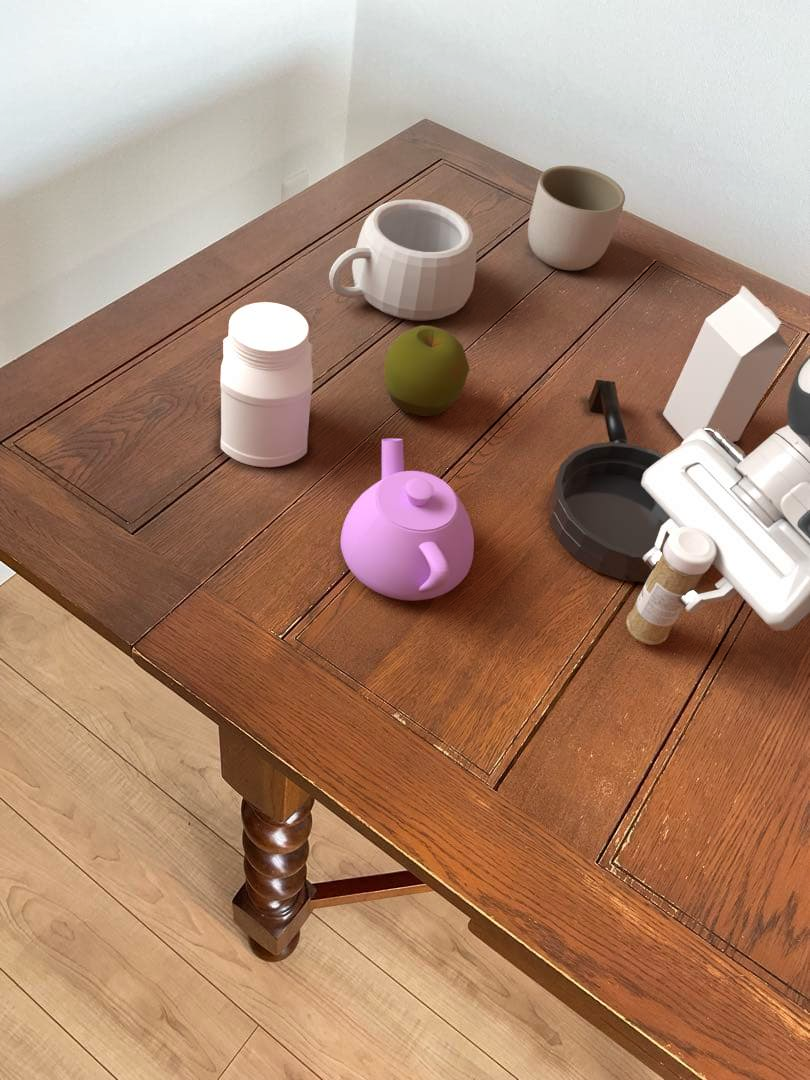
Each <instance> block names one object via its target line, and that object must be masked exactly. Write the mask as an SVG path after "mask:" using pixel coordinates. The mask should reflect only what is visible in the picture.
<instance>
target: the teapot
mask: <svg viewBox="0 0 810 1080" xmlns="http://www.w3.org/2000/svg"><path fill="white" fill-rule="evenodd" d="M404 455H405V454H404V439H403V438H382V439H381V479H380V480H379V481H377V482H375V483H374V484H373V485H371V486H369V488H367V489H366V490H365V491H364V492H362V493H361V495H359V497H358V498H357V499H356V500H355V502H354V503H353V504H352V506H351V507H350V509H349V511H348V513H347V515H346V517H345V519H344V521H343V524H342V529H341V535H340V549H341V553H342V556H343V559H344V562H345V564H346V566H347V567H348V569H349V571H350V572H351V573H352V574H353V576H354V577H355V578H356V579H357V580H358V581H359V582H360V583H362V584H363V585H364V586H366V587H367V588H368V589H370V590H372V591H373V592H375V593H377V594H379V595H382V596H384V597H387V598H390V599H396V600H401V601H413V602H414V601H425V600H429V599H434V598H437V597H441V596H442V595H445V594H447V593H449V592H450V591H452V590H453V589H455V588H456V587H457V586H458V585H459V584H460V583H461V582H463V580H465V578H466V576H467V575H468V573H469V572H470V569H471V566H472V563H473V558H474V554H475V553H474V551H475V538H474V529H473V526H472V522H471V519H470V516H469V513H468V512H467V510H466V508H465V506H464V504H463V503H462V500H461V499H460V498H459V496H458V494H457V493H456V492H455V491H454V489H453V488H451V486H450V485H449V484H448V483H447V482H446V481H444V480H443V479H441V478H440V477H437V475H434V474H431V473H428V472H424V471H419V470H405V461H404V460H405V459H404V458H405V457H404Z"/></svg>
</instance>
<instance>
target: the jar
mask: <svg viewBox="0 0 810 1080" xmlns="http://www.w3.org/2000/svg"><path fill="white" fill-rule="evenodd" d="M309 336H310V327H309V323H308V321H307V319H306V318H305V317H304V316H303V315H302V314H301V313H300V312H299V311H298V310H296V309H294V308H293V307H291V306H288V305H285V304H281V303H277V302H270V301H263V302H261V301H259V302H253V303H249V304H245V305H243V306H241V307H240V308H238V309H237V310H236V311H235V312H233V313H232V314H231V316H230V318H229V320H228V336H226V337H225V338H224V339H223V340H222V343H223V344H222V355H223V358H222V361H221V365H220V378H219V379H220V384H219V385H220V392H221V393H220V401H221V402H220V420H221V421H220V449H221V450H222V452H223V453H225V454H226V455H227V456H228V457H230V458H232V459H233V460H235V461H237V462H239V463H241V464H245V465H248V466H251V467H259V468H276V467H282V466H286V465H290V464H292V463H295V462H296V461H298V460H300V459H301V458H302V457H304V456H305V455H306V454H307V453H308V435H309V423H310V413H311V401H312V394H313V385H314V382H313V381H314V371H313V370H314V369H313V365H312V360H313V351H314V349H313V348H314V346H313V345H312V343H310V342H309Z"/></svg>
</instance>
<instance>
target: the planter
mask: <svg viewBox="0 0 810 1080" xmlns="http://www.w3.org/2000/svg"><path fill="white" fill-rule="evenodd" d="M625 194H626V193H625V192H624V190H623V188H622V187H621V186H620V185H619V184H618V183H617V182H616V181H615V180H614V179H613V178H611V177H609V176H607V175H606V174H604V173H602V172H600V171H597V170H594V169H591V168H588V167H583V166H578V165H557V166H553V167H550V168H548V169H546V170H544V171H543V172H542V173H541V174H540V176H539V179H538V182H537V185H536V190H535V194H534V199H533V202H532V205H531V210H530V215H529V220H528V223H527V224H528V225H527V239H528V244H529V247H530V248H531V250H532V252H533V254H534V256H535V257H537V258H538V259H539V260H540V261H541V262H542V263H544V264H546V265H547V266H550V267H552V268H555V269H559V270H563V271H581V270H585V269H587V268H590V267H592V266H593V265H595V264H596V263H597V262H598V261H600V259H601V258H602V256H603V255H604V254H605V252H606V251H607V249H608V247H609V245H610V243H611V240H612V238H613V235H614V232H615V230H616V227H617V224H618V221H619V218H620V215H621V213H622V211H623V207H624V205H625V201H626V195H625Z"/></svg>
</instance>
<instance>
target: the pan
mask: <svg viewBox="0 0 810 1080" xmlns="http://www.w3.org/2000/svg"><path fill="white" fill-rule="evenodd" d="M664 456H665V455H663V454H662V453H660V452H658V451H656V450H653V449H650V448H647V447H643V446H641V445H638V444H634V443H628V444H627V443H618V442H609V441H605V442H598V443H591V444H587V445H586V446H583V447H581V448H579V449H577V450H574V451H572V452H571V453H570V454H569V455H568V456H567V457H566V458H565V459H564V460H563V461H562V463H561V464H560V465H559V468H558V471H557V472H556V476H555V478H554V481H553V484H552V486H551V489H550V492H549V495H548V497H547V501H546V509H547V518H548V523H549V526H550V527H551V529H552V531H553V533H554V534H555V537H556V538H557V540H558V541H559V543H560V544H561V545H562V546H563V547H564V548H565V549H566V550H567V551H568V552H569V553H570V554H571V555H572V556H573V557H574V558H575V559H576V560H578V561H580V562H581V563H583V564H584V565H586V566H588V567H589V568H590V569H592V570H594V571H596V572H598V573H600V574H604V575H606V576H609V577H612V578H615V579H618V580H621V581H628V582H639V583H646V581H647V579H648V578H649V576H650V574H651V572H652V569H651V568H650V567H649V566H648V565H647V564H646V562H645V561H644V560H643V556H644V555H645V554H646V553H648V552H649V551H650V550H651V549H652V548H653V547H654V546H655V542H656V540H657V537H658V534H659V531H660V528H661V526H662V525H663V524H664V523H665V522H666V521H668V520H669V519H670V516H669V515H668V514H667V513H666V512H665V511H664V510H663V509H662V508H661V507H660V505H659V504H658V503H657V502H656V501H655V500H654V499H653V498H652V497H651V496H650V494H649V493H648V492H647V491H646V490H645V489H644V488H643V487H642V485H641V481H642V477H643V473H644V472H645V471H646V470H647V469H648V468H649V467H650V466H652V465H653V464H654V463H656V462H657V461H658V460H660V459H661V458H662V457H664Z"/></svg>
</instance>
